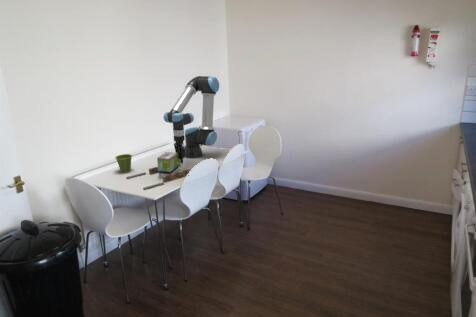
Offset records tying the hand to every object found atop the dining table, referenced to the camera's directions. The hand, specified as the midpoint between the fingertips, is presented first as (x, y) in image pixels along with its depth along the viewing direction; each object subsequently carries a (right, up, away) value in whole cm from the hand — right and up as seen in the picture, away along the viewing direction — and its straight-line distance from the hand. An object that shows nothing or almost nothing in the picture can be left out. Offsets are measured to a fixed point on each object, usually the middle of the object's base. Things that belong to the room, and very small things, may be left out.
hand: (181, 166), depth 256 cm
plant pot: (-42, -3, +4) cm, 42 cm away
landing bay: (-22, -10, -17) cm, 29 cm away
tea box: (-8, -6, -5) cm, 11 cm away
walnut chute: (-7, -5, -5) cm, 10 cm away
